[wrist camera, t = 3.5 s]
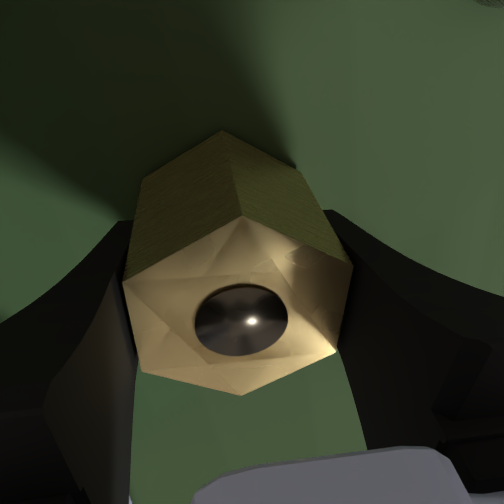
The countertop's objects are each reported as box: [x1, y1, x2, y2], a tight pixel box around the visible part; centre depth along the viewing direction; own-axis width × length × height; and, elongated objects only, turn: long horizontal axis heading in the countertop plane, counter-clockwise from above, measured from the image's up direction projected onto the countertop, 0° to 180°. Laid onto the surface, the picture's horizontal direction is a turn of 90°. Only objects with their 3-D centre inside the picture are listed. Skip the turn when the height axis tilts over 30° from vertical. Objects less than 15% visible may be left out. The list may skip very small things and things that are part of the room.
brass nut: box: [122, 130, 353, 396], centre depth 11 cm, size 6×5×5 cm
